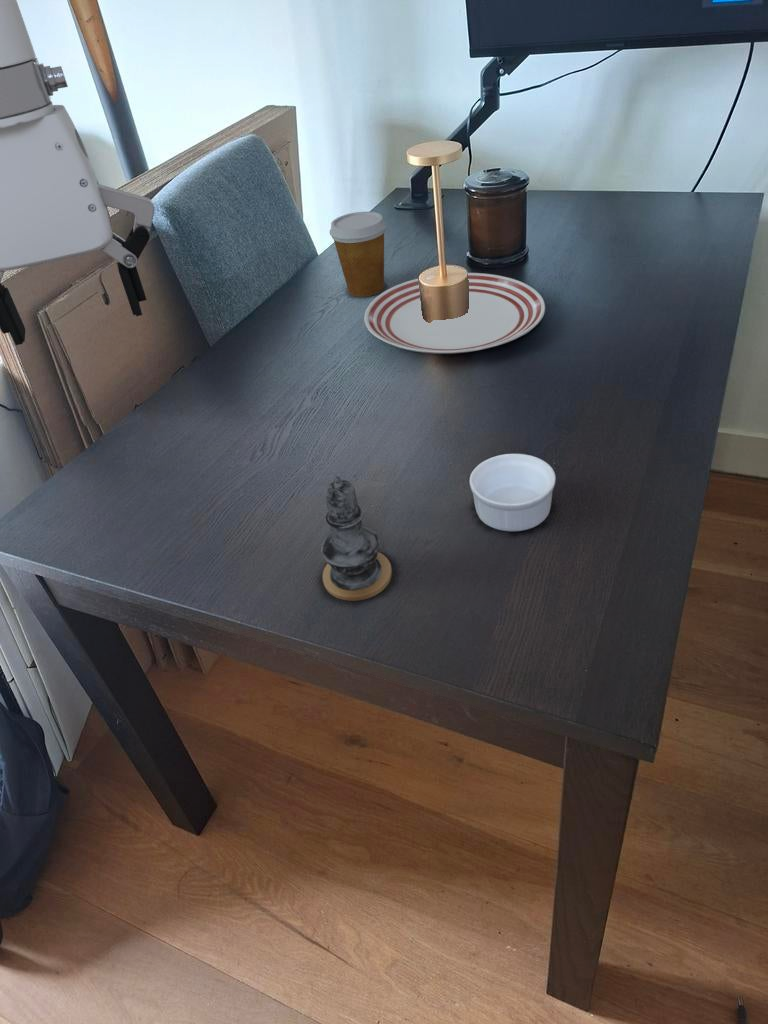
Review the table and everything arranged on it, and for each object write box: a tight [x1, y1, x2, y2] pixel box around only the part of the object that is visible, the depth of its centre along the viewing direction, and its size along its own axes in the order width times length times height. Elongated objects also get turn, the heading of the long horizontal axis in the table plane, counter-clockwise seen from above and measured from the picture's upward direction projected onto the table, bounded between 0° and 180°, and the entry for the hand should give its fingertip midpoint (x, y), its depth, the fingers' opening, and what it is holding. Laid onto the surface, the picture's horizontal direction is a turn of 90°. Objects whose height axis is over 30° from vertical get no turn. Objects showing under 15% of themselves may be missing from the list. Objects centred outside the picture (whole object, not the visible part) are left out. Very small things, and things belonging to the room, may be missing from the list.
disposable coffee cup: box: [329, 211, 387, 298], centre depth 129 cm, size 10×10×12 cm
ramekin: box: [469, 453, 557, 532], centre depth 80 cm, size 9×9×4 cm
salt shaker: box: [320, 475, 382, 591], centre depth 73 cm, size 6×6×12 cm
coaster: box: [322, 551, 393, 602], centre depth 76 cm, size 7×7×1 cm
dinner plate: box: [363, 272, 546, 355], centre depth 117 cm, size 28×27×3 cm
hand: (79, 324), depth 64 cm, fingers open, 9 cm apart
